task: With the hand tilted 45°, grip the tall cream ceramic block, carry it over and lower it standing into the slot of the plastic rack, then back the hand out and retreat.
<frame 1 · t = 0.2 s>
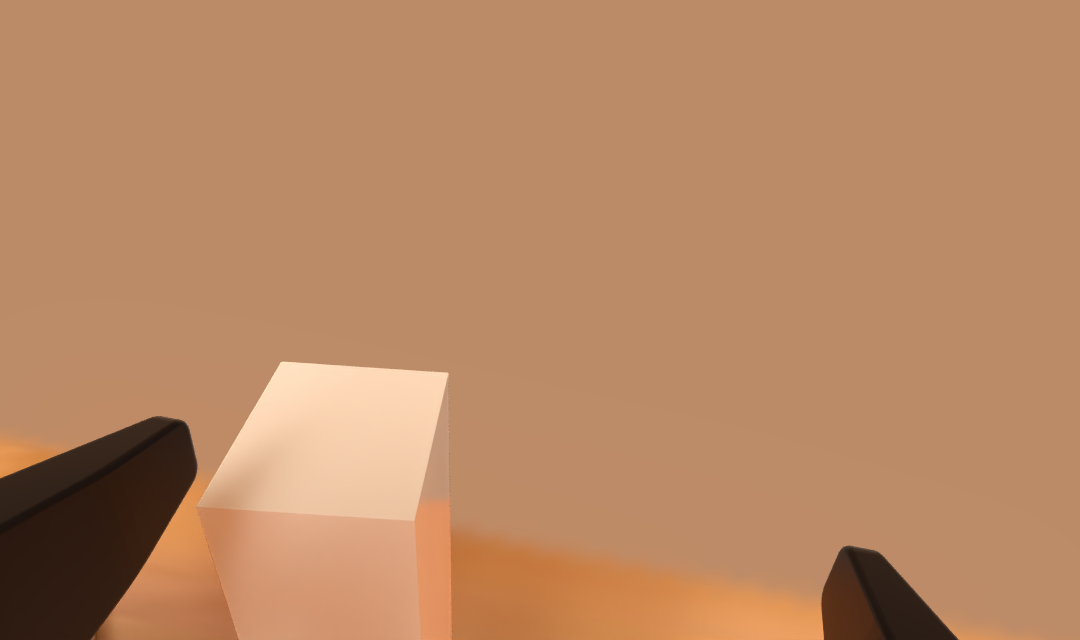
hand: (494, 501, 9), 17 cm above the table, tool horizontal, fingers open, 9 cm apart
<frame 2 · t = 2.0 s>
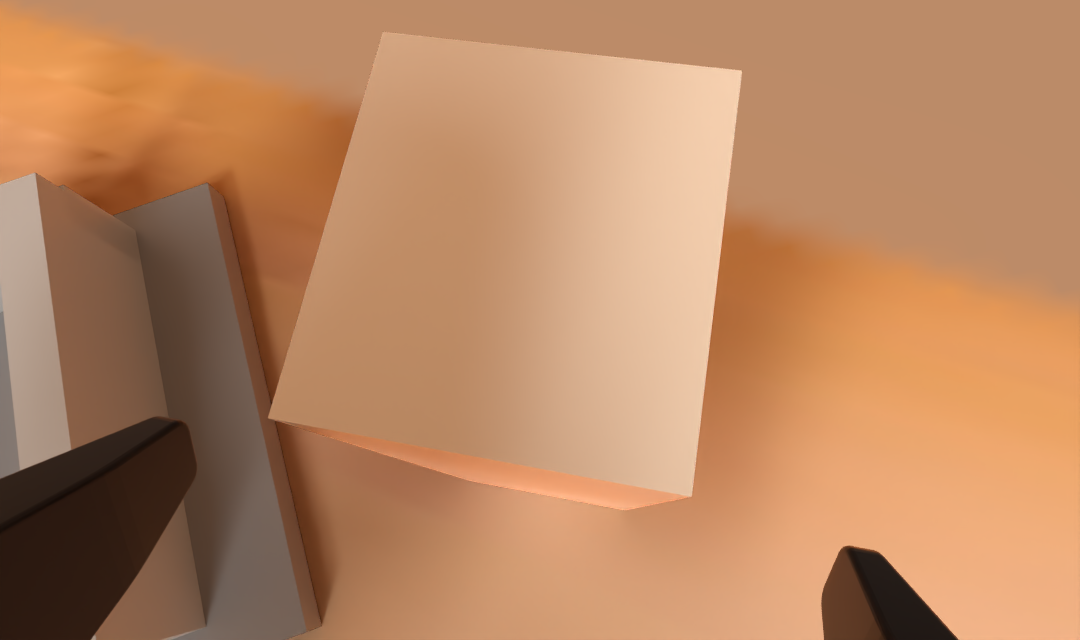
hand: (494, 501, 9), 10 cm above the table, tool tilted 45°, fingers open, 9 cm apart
cream block: (561, 408, 19), on the table
slot rack: (47, 468, 20), on the table
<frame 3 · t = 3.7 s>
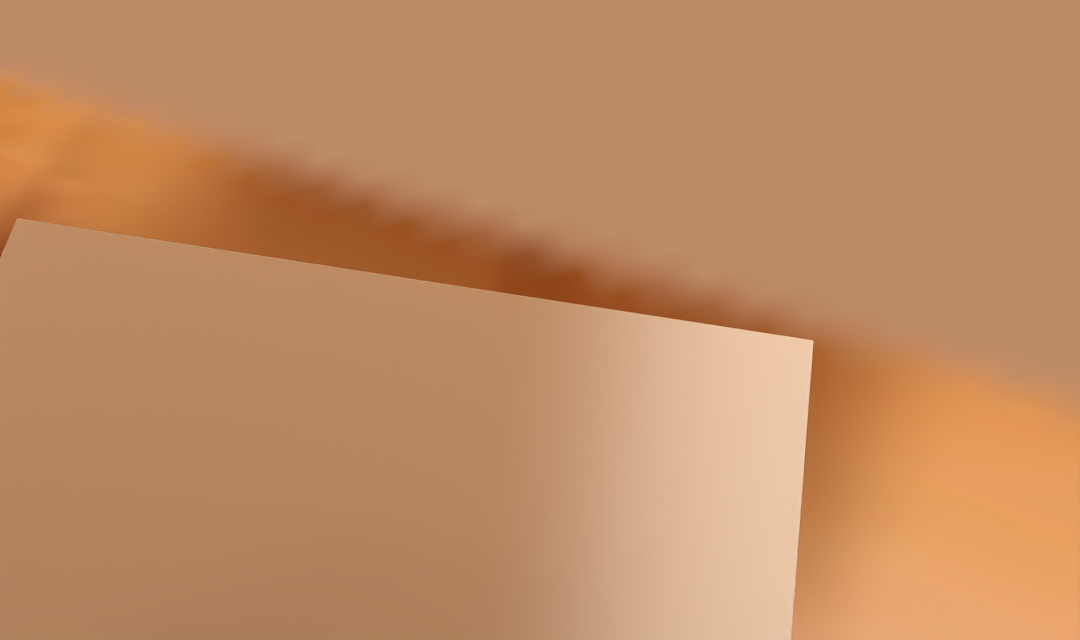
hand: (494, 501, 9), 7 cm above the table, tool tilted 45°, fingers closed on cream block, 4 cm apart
cream block: (522, 569, 15), on the table, touching gripper
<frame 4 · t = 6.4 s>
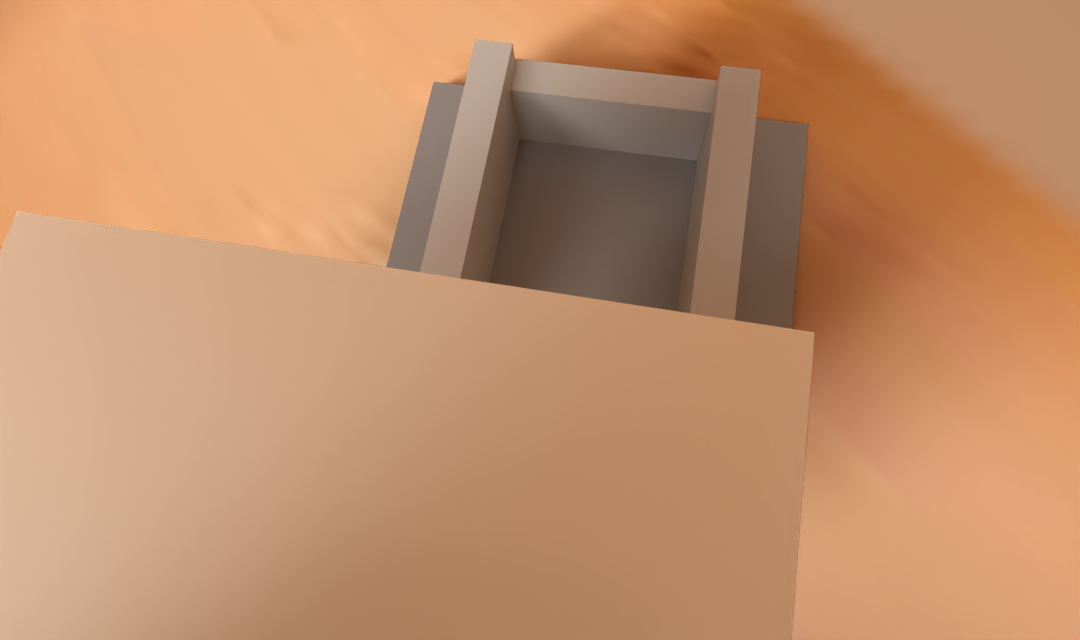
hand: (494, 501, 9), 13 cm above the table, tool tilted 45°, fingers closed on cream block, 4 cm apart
cream block: (522, 567, 15), point 7 cm above the table, touching gripper
slot rack: (585, 287, 24), on the table
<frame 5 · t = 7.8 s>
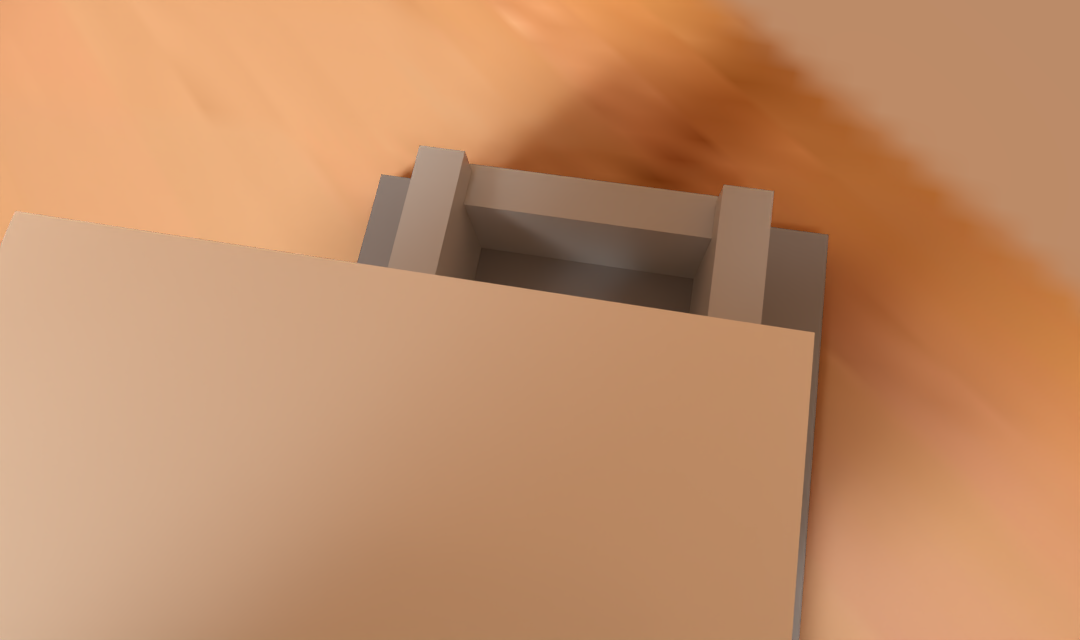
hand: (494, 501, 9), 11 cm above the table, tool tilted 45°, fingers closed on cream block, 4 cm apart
cream block: (522, 567, 15), point 4 cm above the table, touching gripper
slot rack: (558, 430, 20), on the table
when the fingers open (8 cm above the table, at t = 9.1 s): cream block stays where it is, resting on slot rack.
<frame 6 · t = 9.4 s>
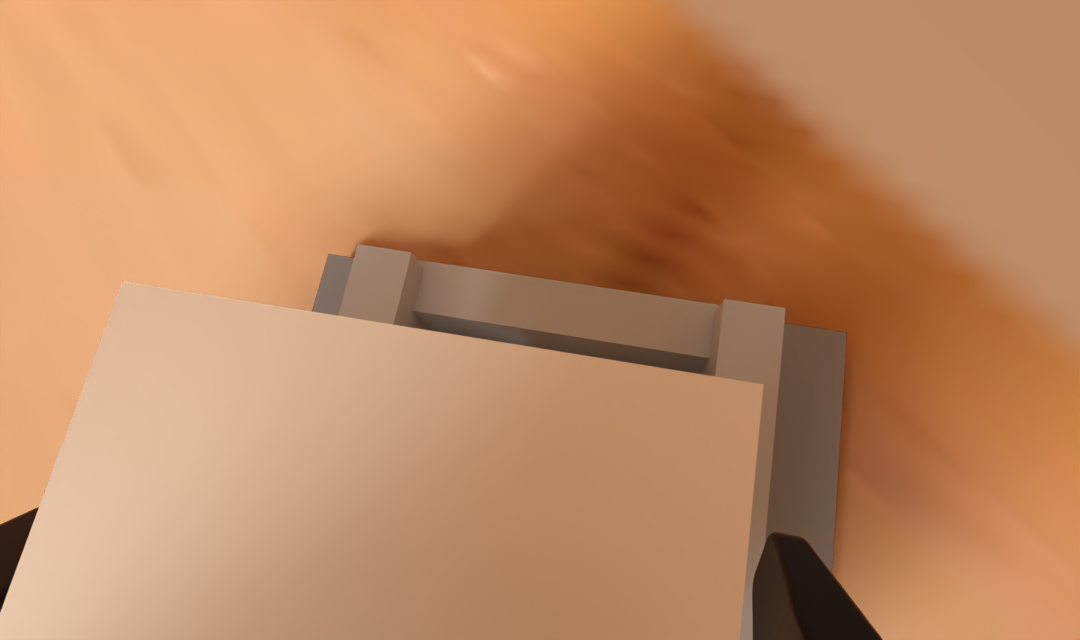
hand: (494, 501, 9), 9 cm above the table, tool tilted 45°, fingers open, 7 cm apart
cream block: (526, 566, 16), point 1 cm above the table, touching slot rack
slot rack: (530, 562, 17), on the table
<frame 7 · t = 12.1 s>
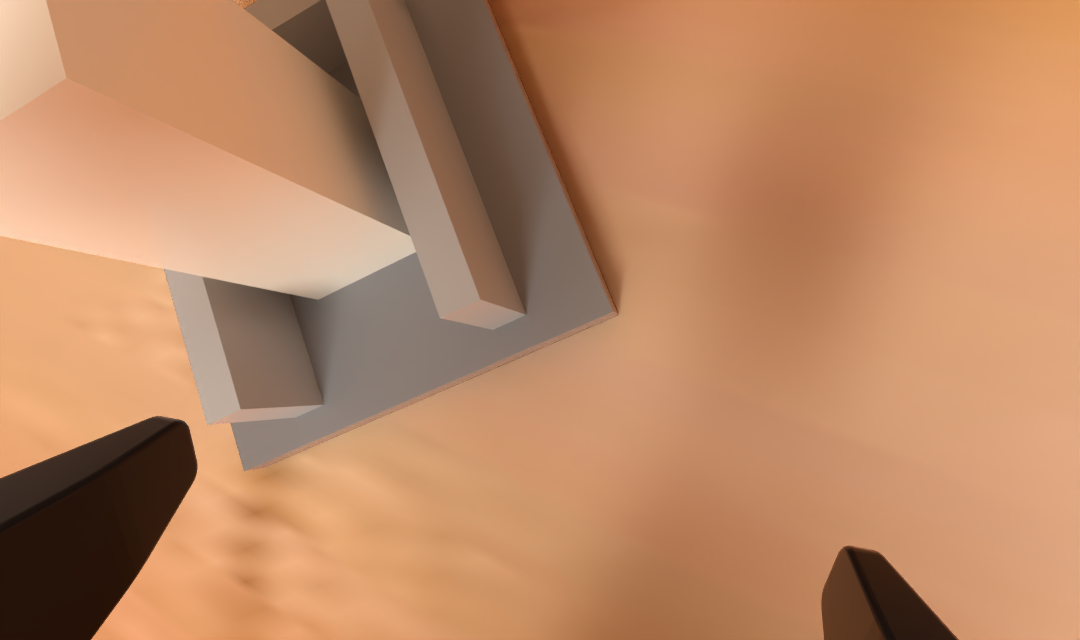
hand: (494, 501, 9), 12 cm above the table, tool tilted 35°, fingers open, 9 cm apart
cream block: (350, 207, 23), point 1 cm above the table, touching slot rack
slot rack: (365, 214, 24), on the table
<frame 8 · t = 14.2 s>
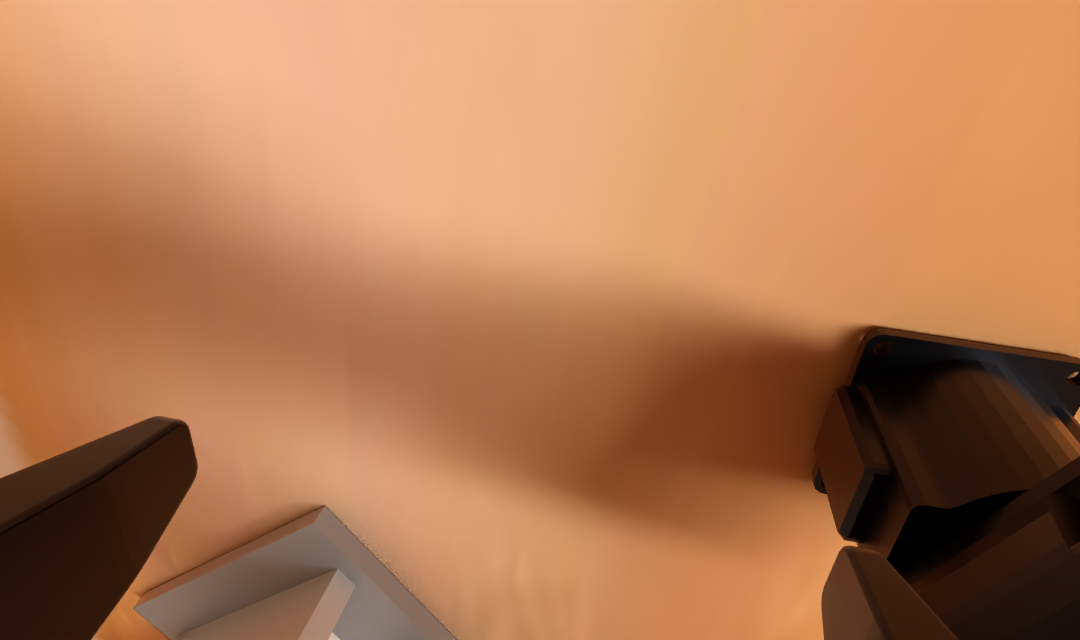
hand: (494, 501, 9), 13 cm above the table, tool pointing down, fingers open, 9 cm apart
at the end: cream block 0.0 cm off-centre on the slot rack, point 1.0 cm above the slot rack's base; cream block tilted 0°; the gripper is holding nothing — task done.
